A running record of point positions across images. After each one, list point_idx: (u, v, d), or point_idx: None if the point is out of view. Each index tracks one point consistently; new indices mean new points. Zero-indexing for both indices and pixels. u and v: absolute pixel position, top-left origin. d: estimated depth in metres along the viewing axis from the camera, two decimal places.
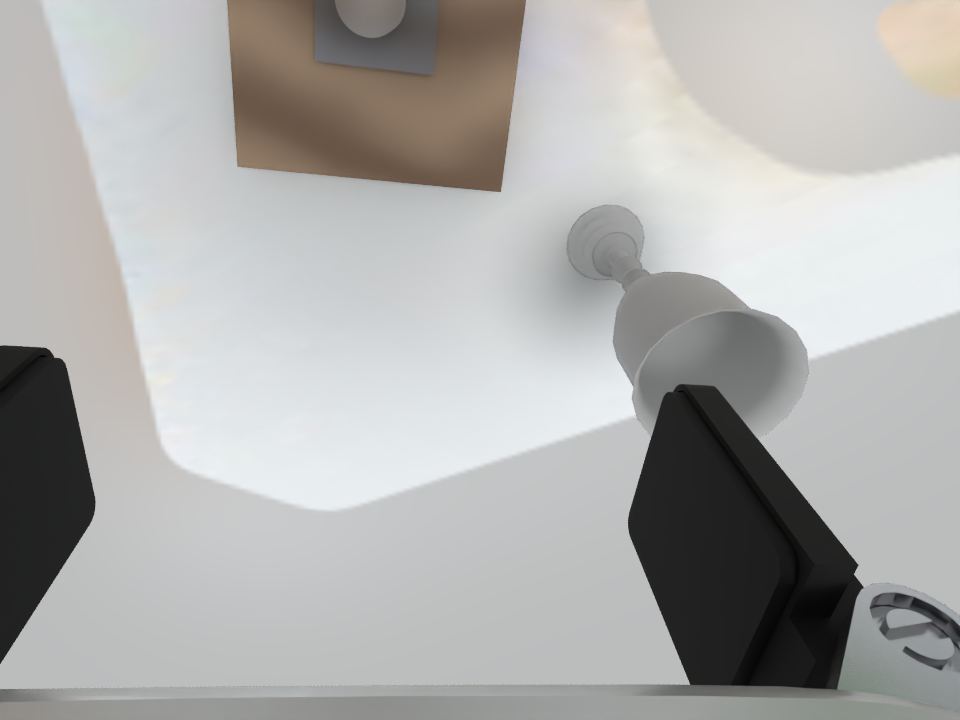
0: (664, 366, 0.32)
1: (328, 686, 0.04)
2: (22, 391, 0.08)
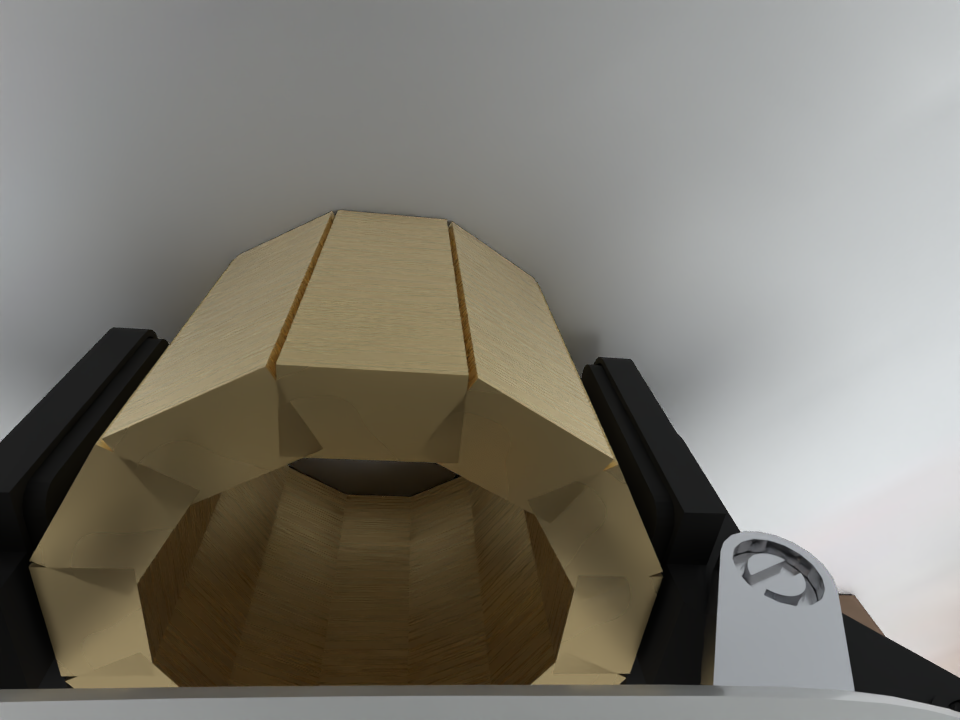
0: None
1: (328, 686, 0.04)
2: (140, 367, 0.09)
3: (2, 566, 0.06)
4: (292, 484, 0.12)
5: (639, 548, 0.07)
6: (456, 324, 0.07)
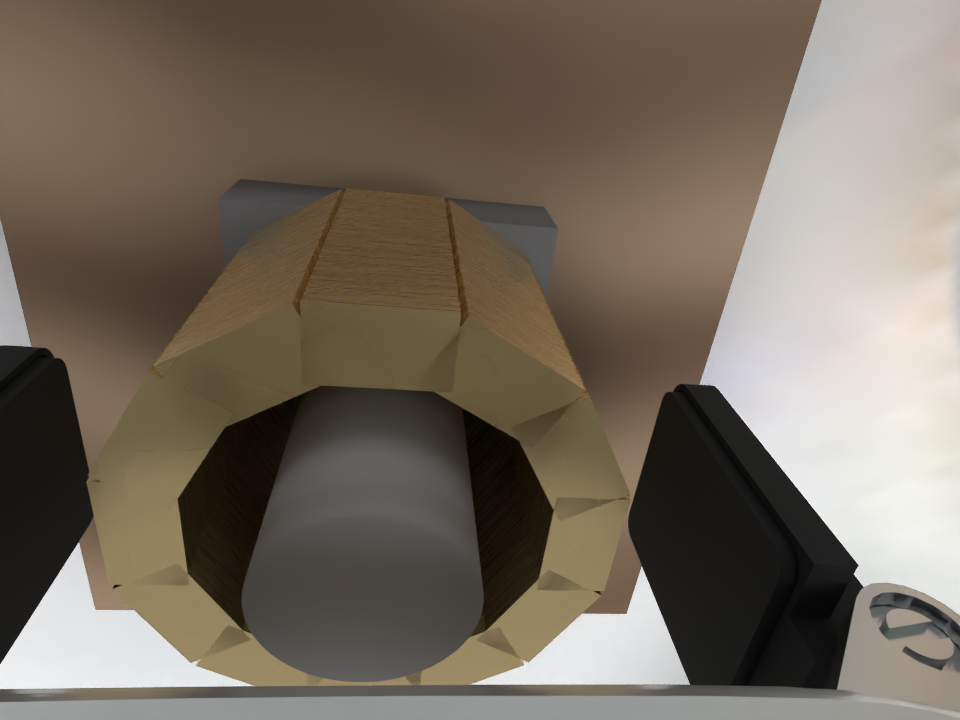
0: None
1: (327, 686, 0.04)
2: (22, 391, 0.08)
3: None
4: None
5: (609, 472, 0.08)
6: (451, 277, 0.08)
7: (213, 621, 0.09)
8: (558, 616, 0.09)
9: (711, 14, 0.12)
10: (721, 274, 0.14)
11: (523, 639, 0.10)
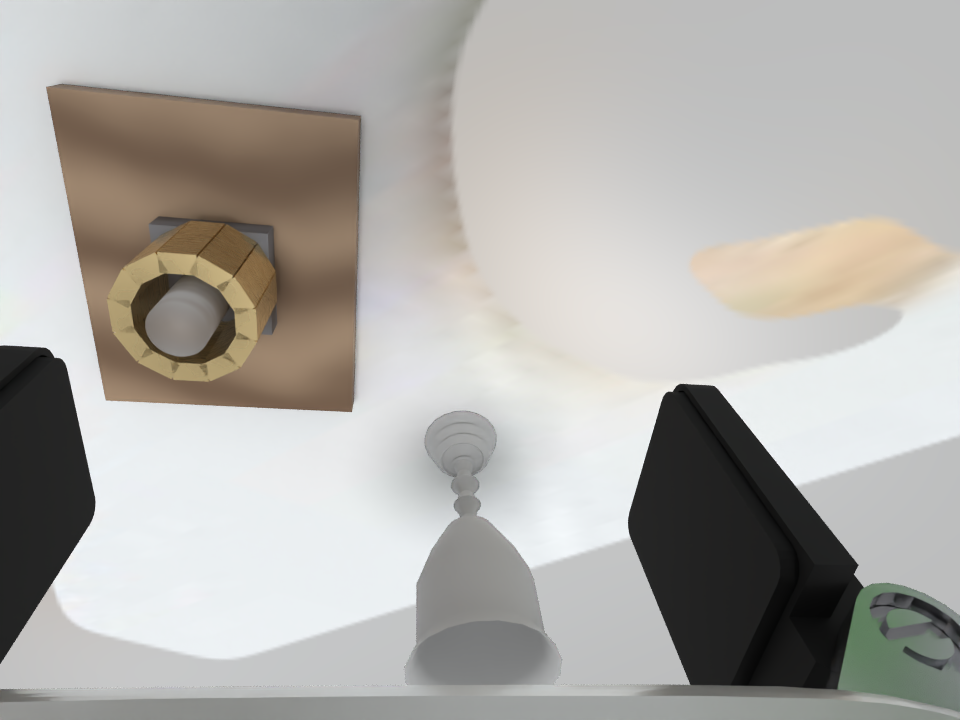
0: None
1: (327, 686, 0.04)
2: (22, 391, 0.08)
3: None
4: None
5: (247, 300, 0.30)
6: (202, 247, 0.30)
7: (142, 345, 0.31)
8: (246, 349, 0.31)
9: (319, 160, 0.34)
10: (350, 251, 0.36)
11: (236, 357, 0.32)
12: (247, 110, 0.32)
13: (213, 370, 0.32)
